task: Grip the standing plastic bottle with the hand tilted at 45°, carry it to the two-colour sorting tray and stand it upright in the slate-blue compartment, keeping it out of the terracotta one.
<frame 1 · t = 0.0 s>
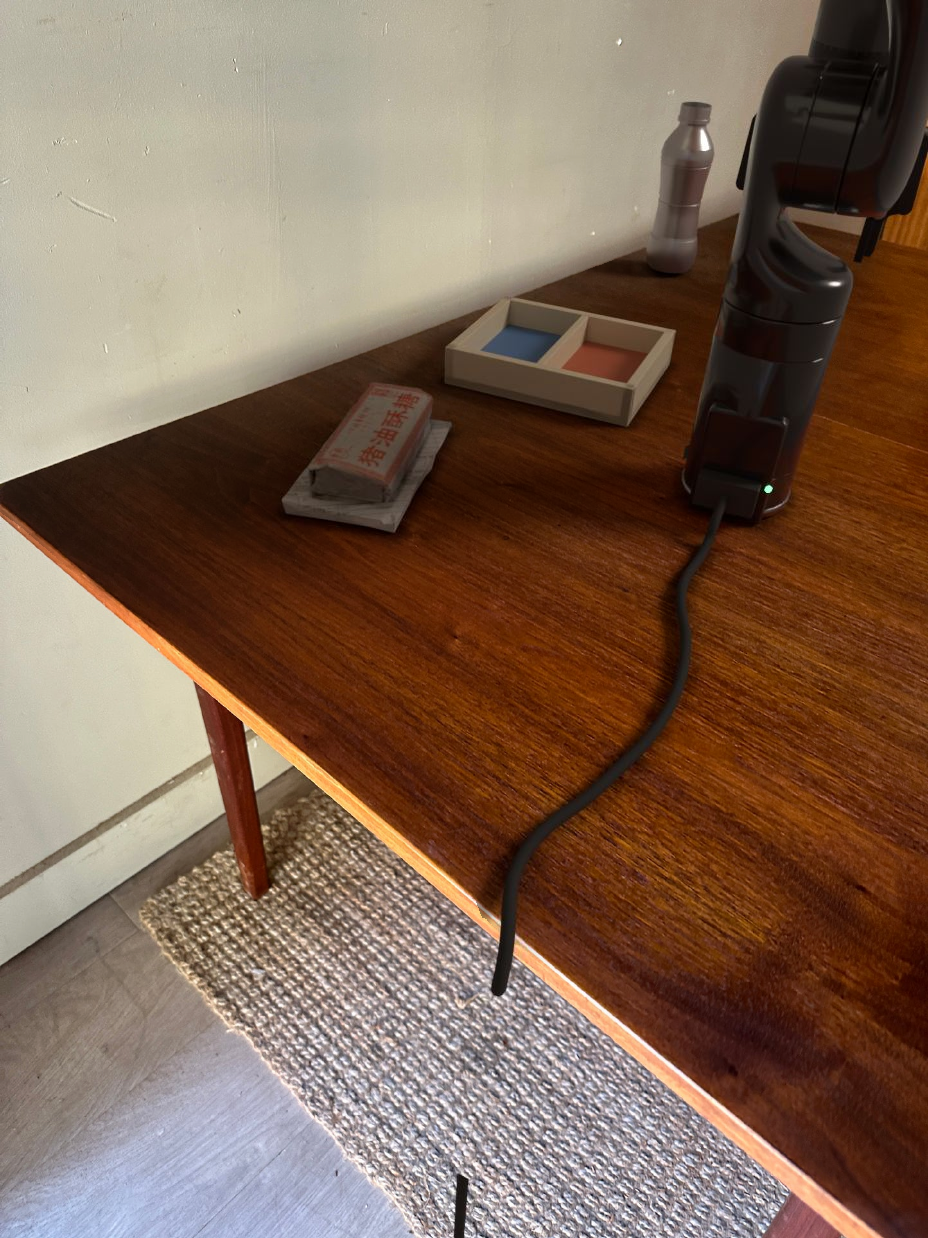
hand: (807, 250, 79), 17 cm above the table, tool pointing down, fingers open, 8 cm apart
plastic bottle: (667, 272, 124), on the table
packaged product: (372, 473, 82), on the table
sorting tray: (559, 373, 98), on the table
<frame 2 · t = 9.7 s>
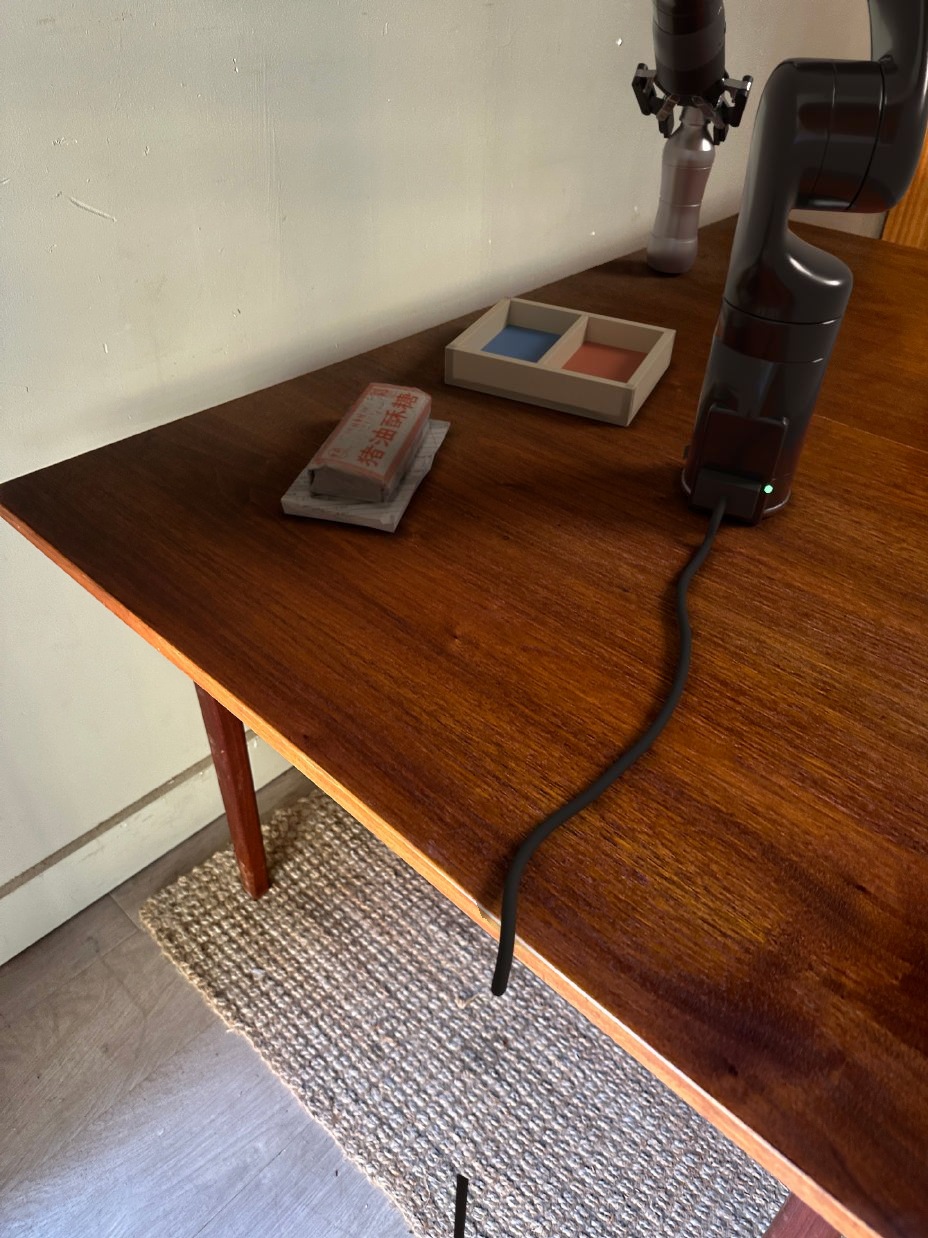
hand: (694, 134, 114), 16 cm above the table, tool tilted 45°, fingers closed on plastic bottle, 5 cm apart
plastic bottle: (667, 271, 124), on the table, touching gripper
everything else where it was.
when the fingers open (18 cm above the table, at t = 21.7 s): plastic bottle stays where it is, resting on sorting tray.
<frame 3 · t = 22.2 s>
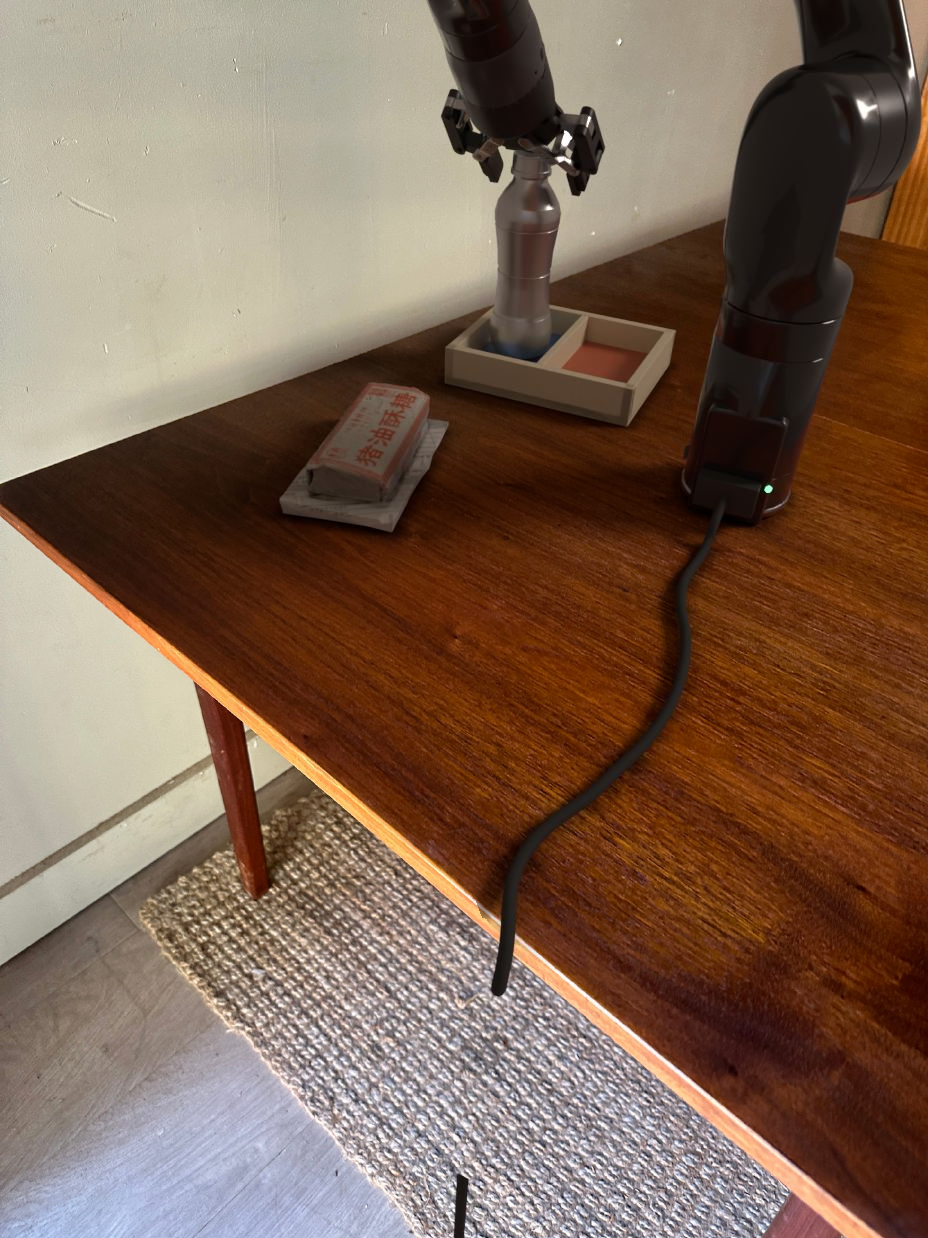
hand: (538, 180, 89), 19 cm above the table, tool tilted 45°, fingers open, 8 cm apart
plastic bottle: (518, 355, 99), point 1 cm above the table, touching sorting tray
everything else where it was.
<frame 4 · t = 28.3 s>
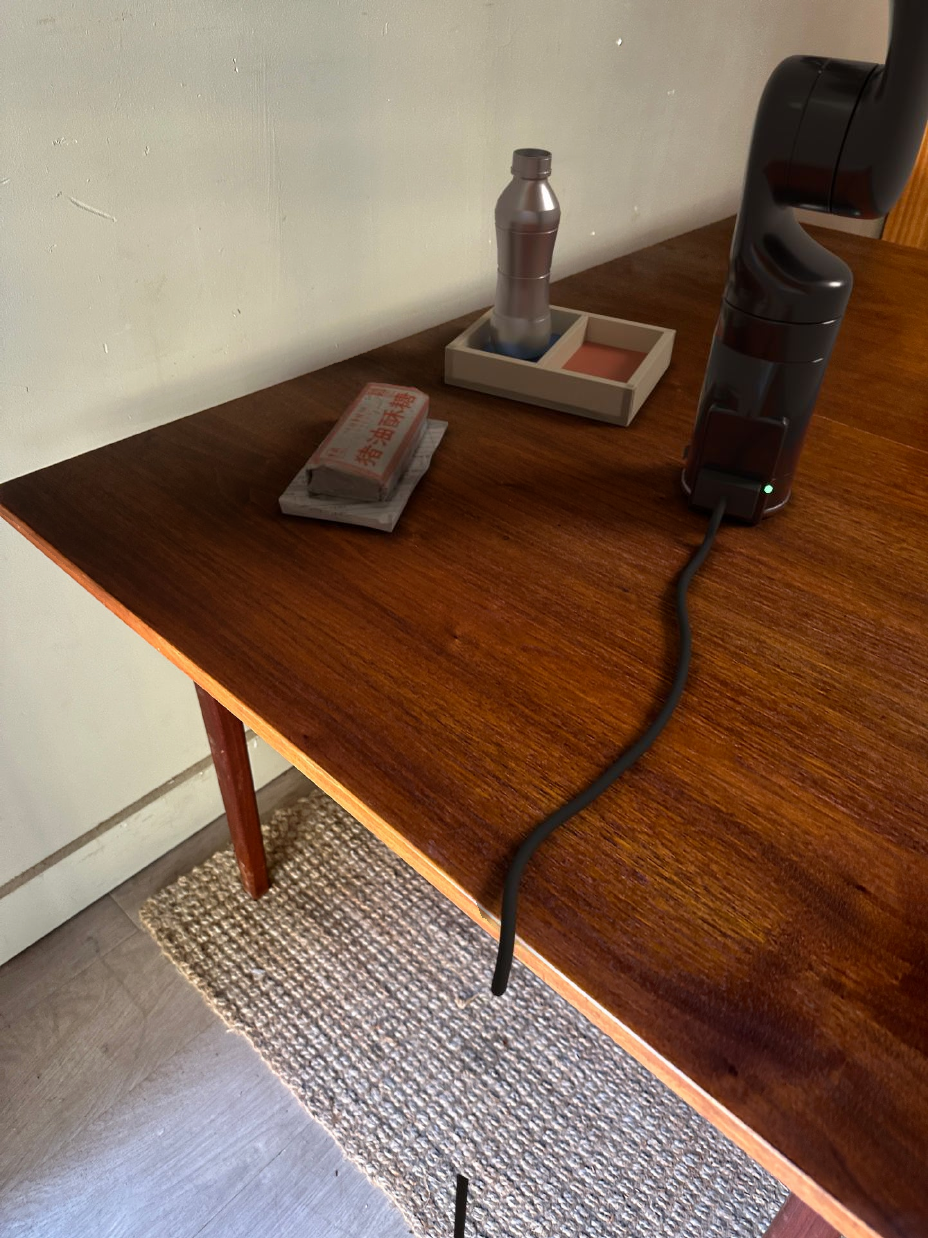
nothing on the table moved.
at the end: plastic bottle inside the target area on the sorting tray (0.2 cm from its centre), point 1.0 cm above the sorting tray's base; plastic bottle tilted 0°; the gripper is holding nothing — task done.
